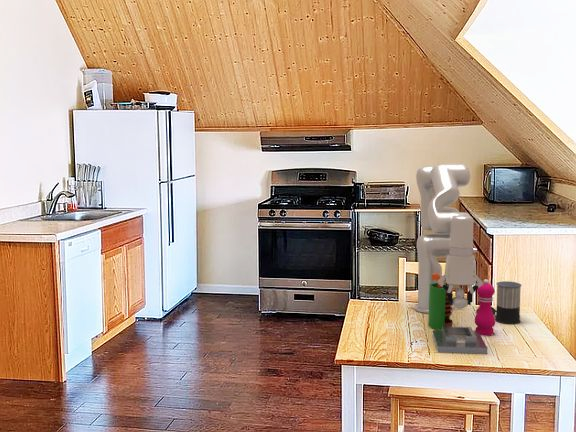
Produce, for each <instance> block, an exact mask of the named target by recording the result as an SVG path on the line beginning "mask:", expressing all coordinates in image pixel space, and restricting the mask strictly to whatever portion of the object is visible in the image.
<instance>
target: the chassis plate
mask: <svg viewBox="0 0 576 432" xmlns="http://www.w3.org/2000/svg"><path fill="white" fill-rule="evenodd" d="M432 339H433V343H434V345H435V348H436V352H437V353H443V354H444V353H446V354H448V353H449V354H451V353H452V354H476V355H477V354H478V355H488V346H487V345H486V343H485V341H484V339H483V338H482V335H480V334H479V332H476V331H474V330H473V328H472V327H471V326H453V325H452V326H442V330H437V329H432Z"/></svg>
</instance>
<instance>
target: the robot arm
mask: <svg viewBox="0 0 576 432" xmlns="http://www.w3.org/2000/svg"><path fill="white" fill-rule="evenodd" d="M415 178H416V184H417V185H416V186H417V189H418V191H419V195H420V226H421V228H422V230H425V231H431V232H433V233H425V234H422V235H420V236H418V238H417V239H416V250H417V257H418V258H417V259H418V260H417V261H418V264H417V265H418V273H417V274H418V276H417V277H418V278H417V280H418V283H417V284H418V285H417V304H414V306H413V309H414V311H416V312H419V313H422V314H429V291H430V284H432V283H438V284H439V285H441V286H442V287H443V288H444V289H445V290H446V291H447V301H448V302H449V304H450V305H452V298H453V297H452V294H453V292H452V289H453V288H454V286H467V289H468V292H466V293H467V297H466V299H468V305H467V306H471V304H472V303H473V300H474V299H473V298H474V297H473V295H474V293H475V292H477V289H478V288H479V287H480V286H482V285H483V283H484V281H482V280H481V278H480V277H479V276H478V275H477V264H476V258H475V255H474V254H475V253H478V248H475V247H473V246H474V218H473V217H472V216H471V215H470V213H468V212H461V211H459V210H458V209H457V208H456V207H451V206H450V205H452V204H454V203H455V202H456V201H458V199H459V198H460V195H461V194H460V190H459V188H460V187H466V186H467V185H469V183H470V180H471V171H470V168H469V167H468V166H467V165H466V164H465V163H440V164H436V165H425V166H421V167H419V168H418V169H417V171H416V174H415ZM449 206H450V207H449ZM438 258H445V265H444V274H443V267H442V265H441V264H440V262H439V261H438V260H437V259H438ZM435 273H437V274H439V275H440V276H441V278H440V279H439V280H438V281H437V280H432V274H435ZM444 281H445V282H444ZM444 283H447V284H448V287H447V286H446V285H445V284H444ZM452 306H453V305H452Z"/></svg>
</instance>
